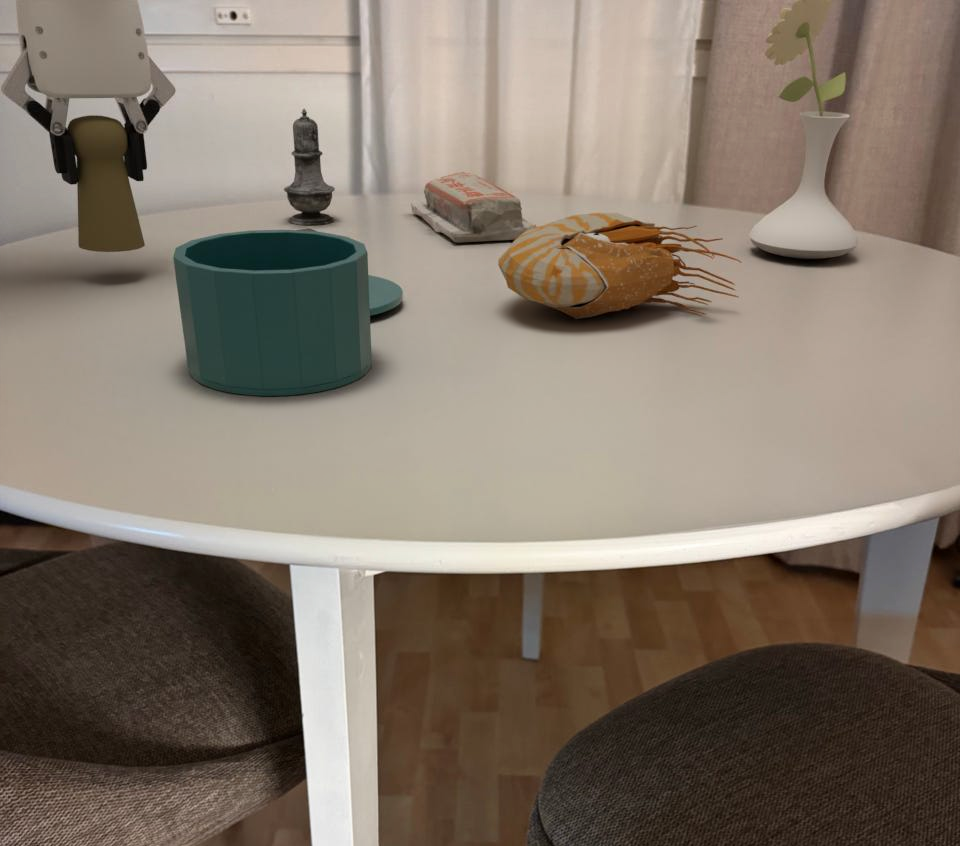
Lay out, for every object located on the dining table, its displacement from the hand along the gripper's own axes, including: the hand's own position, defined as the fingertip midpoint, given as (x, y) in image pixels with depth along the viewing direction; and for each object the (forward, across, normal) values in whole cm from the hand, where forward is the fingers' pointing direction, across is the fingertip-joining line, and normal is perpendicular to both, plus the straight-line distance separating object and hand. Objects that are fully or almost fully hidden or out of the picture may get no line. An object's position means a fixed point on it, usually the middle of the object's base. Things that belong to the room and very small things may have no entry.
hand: (103, 178), depth 98 cm
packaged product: (+8, -43, -4) cm, 44 cm away
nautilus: (+8, -35, +33) cm, 49 cm away
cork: (+6, 0, 0) cm, 6 cm away
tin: (+9, -3, +32) cm, 33 cm away
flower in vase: (+7, -66, +25) cm, 71 cm away
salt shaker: (+8, -28, -16) cm, 33 cm away
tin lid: (+8, -13, +18) cm, 24 cm away
